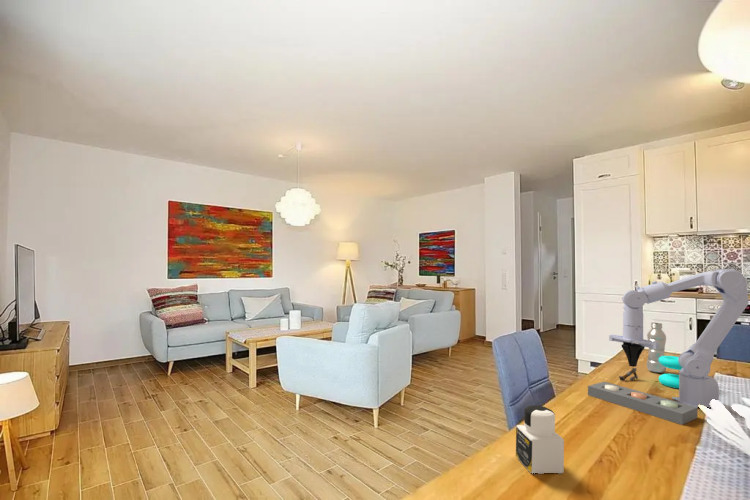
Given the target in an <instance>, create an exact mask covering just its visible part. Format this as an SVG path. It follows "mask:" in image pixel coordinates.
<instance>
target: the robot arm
mask: <svg viewBox="0 0 750 500" xmlns="http://www.w3.org/2000/svg"><path fill="white" fill-rule="evenodd" d="M748 285H749V282H748V281H747V279H746V277H745V276H744V274H743V273H742V272H740V271H739V270H738V269H733V268H727V269H726V268H717V269H714V270H707V271H703V272H699V273H696V274H693V275H689V276H687V277H683V278H681V279H677V280H674V281H672V282H668V283H666V282H663V281H656V280H655V281H654V280H653V281H651V284H648V285H644V286H641V287H640V286H636V287H635V289H629V290H626V291H625V292H624V293H623V295H622V297H621V299H622V302H623V312H622V330H623V331H622V335H619V334H618V335H617V334H609V335H608V337H609V338H608V341H610V342H617V343H622V344H621V348H622V350H623V352H624V353H625V356H626V358H627V362H628V366H629V367H632V368H634V367H635V368H636V367H637V366H638V365H637V364H638V362H639V359H640V356H641V355H642V353H643V351H644V350H645V348H648V349H649V348H653V349H659V343H658V342H653V341H649V340H648V339H644V311H643V310H644V305H645V304H647V305H649V304H652V303H656V302H659V301H663V300H666V299H669V298H670V297H671V295H672V294H673V293H675V292H680V291H683V290H687V289H691V288H695V287H699V286H707V287H708V286H709V287H714V289H715V290H717V291H718V293H719V294H720V296H721V298H722V300H723V302H722V303H721V305H720V306H719V307H718V309H717V311H716V313H715V314H714V315H713V317H711V319H710V321H709V322H708V324H707V325H706V327H705V329H704V330H703V331H702V333H701V334H700V336H699V337H698V339H697V340H696V342H695V343H693V344H692V345H691V346H689V348H688V349H687V350H685V351H684V352H682V353H680V354H679V355H678V357H679V358H678V362H679V364H680V366H681V367H682V369H681V370H678V371H679V373H678V375H679V389H678V397H677V396H671V400H673V401H676V402H680V403H683V404H687V405H691V406H694V407H698V405H699V404H700V405H704V406H706V407H709V408H708V409H711V408H710V405H709V403H710V401H711V400H712V399H715V400H719V401H720V399H719V398H720V388H719V387H720V386H719V382H718V381H717V380H716V379H715V378H714V377H712V376H710V372H711V366H712V365H711V364H712V363H713V362H714V356H715V352H716V351H717V350H718V348H719V347H720V346H721V344H722V342H723V341H724V339H725V338H726V336H727V335H728V334H729V332H730V331H731V330H732V328H733V327H734V325H735V323H736V322H737V321H738V319H740V317H741V315H743V313H744V311H745V309H746V308H747V307H748V305H749V296H748V295H749V294H748Z"/></svg>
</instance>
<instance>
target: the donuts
mask: <svg viewBox="0 0 750 500" xmlns="http://www.w3.org/2000/svg"><path fill="white" fill-rule="evenodd" d="M678 358H679V356H674V355H665V356H661V357H660V358H659V363H660V364H661V365H663V366H665V367H666V369H671V370H677V371H680V370H681V369H682V367H681V366H680V364H679V362H678ZM658 381H659V383H660V384H661V385H663V386H665V387H669V388H673V389H677V390H679V374H677V373H663V374H662V373H661V374H660V375H659V376H658Z"/></svg>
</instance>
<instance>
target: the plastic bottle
mask: <svg viewBox="0 0 750 500" xmlns="http://www.w3.org/2000/svg"><path fill="white" fill-rule="evenodd" d="M650 325H651V326H650V327H651V329H650V330H649V331H647V334H646V338H647V340H649V341H653V342H658V343H659V349H653V348H649V347H648V355H647V360H646V369H647V370H648V371H650V372H653V373H658V374H660V373H661V374H662V373H663V374H665V373H666V370H667V367H665V366H663V365H661V364H660V363H659V358H660V357H661V356H666V354H665V349H666V343H667V342H666V341H667V336H666V334H665V332H664V331H663V330H662V329H663V324H662V323H661V322H650Z"/></svg>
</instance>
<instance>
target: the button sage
mask: <svg viewBox="0 0 750 500" xmlns="http://www.w3.org/2000/svg"><path fill="white" fill-rule="evenodd" d="M661 405H663V406H667V407H670V408H674V409H677V408H678V404H677V403H675V402H671V401H666V400H662V401H661Z"/></svg>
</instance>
